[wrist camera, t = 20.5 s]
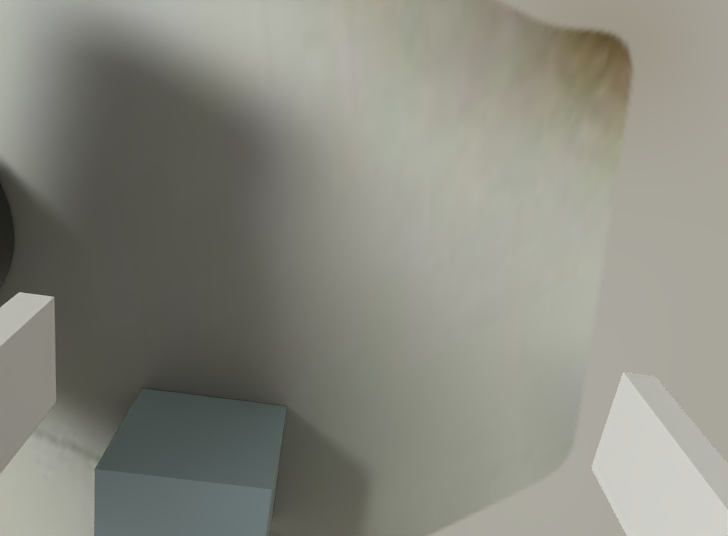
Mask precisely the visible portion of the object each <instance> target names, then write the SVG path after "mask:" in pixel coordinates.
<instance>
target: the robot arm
mask: <svg viewBox="0 0 728 536" xmlns="http://www.w3.org/2000/svg"><path fill="white" fill-rule="evenodd" d="M13 244H14V234H13V224H12V217H11V213H10V209H9V206H8V203H7V200H6V197H5V195H4V192H3V190H2V188H1V186H0V286H1V284H2V282H3V281H4V279H5V277H6V275H7V272H8V269H9V267H10V263H11V259H12V253H13ZM55 403H56V358H55V301H54V297H52V296H44V295H37V294H29V293H22V292H19V293H18V294H16V295H15V296H14V297H13V298H11V299H10V300H9V301H8V302H6V303H5V304H4V305H3V306H1V307H0V473H1V472H2V471H3V470H4V468H5V467H6V466H7V465H8V463H9V462H10V461H11V459H12V458H13V457H14V456H15V454H16V453H17V452H18V451H19V449H20V448H21V447H22V445H23V444H24V443H25V442H26V440H27V439H28V438H29V437H30V435H31V434H32V433H33V431H34V430H35V429H36V428H37V426H38V425H39V424H40V423H41V421H42V420H43V419H44V417H45V416H46V415H47V414H48V412H49V411H50V410H51V409H52V407H53V406H54V405H55ZM591 468H592V470H593V472H594V474H595V476H596V478H597V480H598V482H599V484H600V486H601V488H602V489H603V491H604V493H605V495H606V497H607V499H608V501H609V503H610V505H611V507H612V508H613V510H614V512H615V514H616V516H617V518H618V520H619V522H620V524H621V526H622V528H623V530H624V531H625V533H626V535H627V536H728V463H727V462H726V461H725V460H724V459H723V458H722V456H721V455H720V454H719V453H718V451H717V450H716V449H715V448H714V447H713V445H712V444H711V443H710V442H709V441H708V440H707V438H706V437H705V436H704V435H703V433H701V431H700V430H699V429H698V428H697V426H696V425H695V424H694V423H693V422H692V420H691V419H690V418H689V417H688V416H687V414H686V413H685V412H684V411H683V410H682V408H681V407H680V406H679V405H678V404H677V402H676V401H675V400H674V399H673V398H672V396H671V395H670V394H669V393H668V392H667V391H666V389H665V388H664V387H663V386H662V385H661V383H660V382H659V381H658V380H657V379H656V377H655V376H650V375H642V374H635V373H627V372H623V374H622V377H621V380H620V383H619V386H618V389H617V392H616V395H615V398H614V401H613V404H612V407H611V410H610V413H609V416H608V419H607V422H606V425H605V428H604V431H603V434H602V437H601V440H600V443H599V446H598V449H597V452H596V455H595V458H594V461H593V464H592V467H591Z"/></svg>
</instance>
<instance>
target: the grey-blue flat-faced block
mask: <svg viewBox="0 0 728 536" xmlns="http://www.w3.org/2000/svg"><path fill="white" fill-rule="evenodd" d="M286 407H287V406H281V405H273V404H265V403H257V402H249V401H241V400H233V399H225V398H217V397H209V396H201V395H193V394H185V393H177V392H169V391H161V390H153V389H145V388H142V389H141V391H140V393H139V394H138V396H137V398H136V399H135V401H134V403H133V405H132V406H131V408H130V410H129V411H128V413H127V415H126V417H125V418H124V420H123V422H122V423H121V425H120V427H119V429H118V430H117V432H116V434H115V435H114V437H113V439H112V441H111V442H110V444H109V446H108V447H107V449H106V451H105V453H104V454H103V456H102V458H101V459H100V461H99V463H98V465H97V466H96V468H95V522H94V536H269V535H270V529H271V523H272V516H273V508H274V501H275V493H276V485H277V477H278V470H279V462H280V454H281V446H282V439H283V431H284V423H285V415H286Z"/></svg>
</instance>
